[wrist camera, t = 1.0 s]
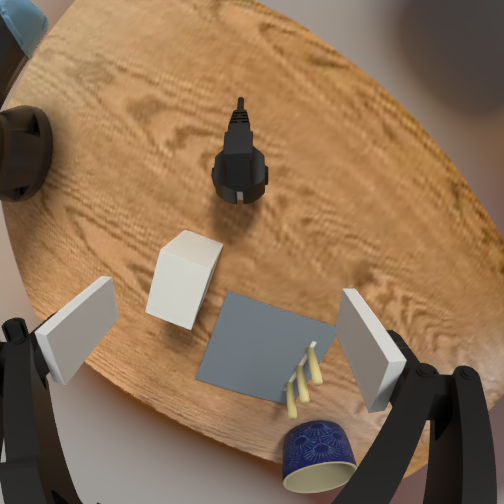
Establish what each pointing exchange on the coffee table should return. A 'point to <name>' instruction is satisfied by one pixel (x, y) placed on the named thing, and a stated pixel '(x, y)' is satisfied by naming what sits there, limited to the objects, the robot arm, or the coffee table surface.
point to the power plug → (239, 162)
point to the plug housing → (183, 278)
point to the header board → (265, 351)
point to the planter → (317, 458)
